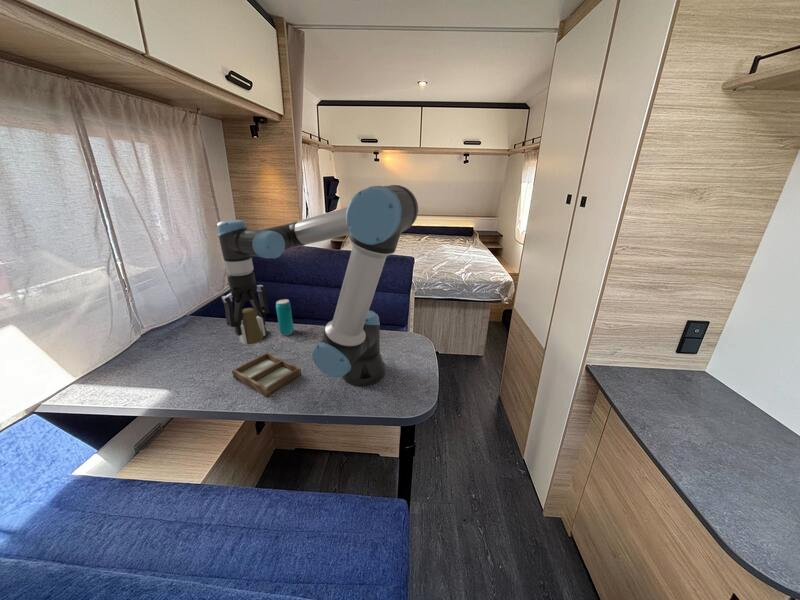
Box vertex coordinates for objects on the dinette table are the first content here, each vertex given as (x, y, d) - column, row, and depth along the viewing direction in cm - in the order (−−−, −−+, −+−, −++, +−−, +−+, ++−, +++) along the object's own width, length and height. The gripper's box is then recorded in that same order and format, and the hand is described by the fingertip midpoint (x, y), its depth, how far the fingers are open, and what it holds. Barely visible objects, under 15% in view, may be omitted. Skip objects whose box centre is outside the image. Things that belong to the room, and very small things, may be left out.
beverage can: (296, 330, 138) (292, 299, 133) (290, 336, 133) (286, 304, 128) (283, 329, 139) (279, 298, 133) (277, 336, 134) (272, 303, 128)
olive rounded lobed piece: (266, 336, 106) (261, 307, 102) (253, 345, 101) (248, 314, 97) (252, 333, 108) (247, 304, 104) (239, 342, 103) (232, 311, 99)
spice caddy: (301, 375, 108) (300, 368, 107) (266, 397, 97) (265, 389, 96) (268, 359, 117) (266, 352, 116) (233, 377, 107) (231, 370, 106)
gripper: (260, 263, 105) (270, 325, 114) (201, 278, 90) (218, 347, 99) (274, 267, 101) (284, 330, 110) (215, 282, 86) (232, 354, 95)
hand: (253, 338), depth 105 cm, fingers closed on olive rounded lobed piece, 6 cm apart
